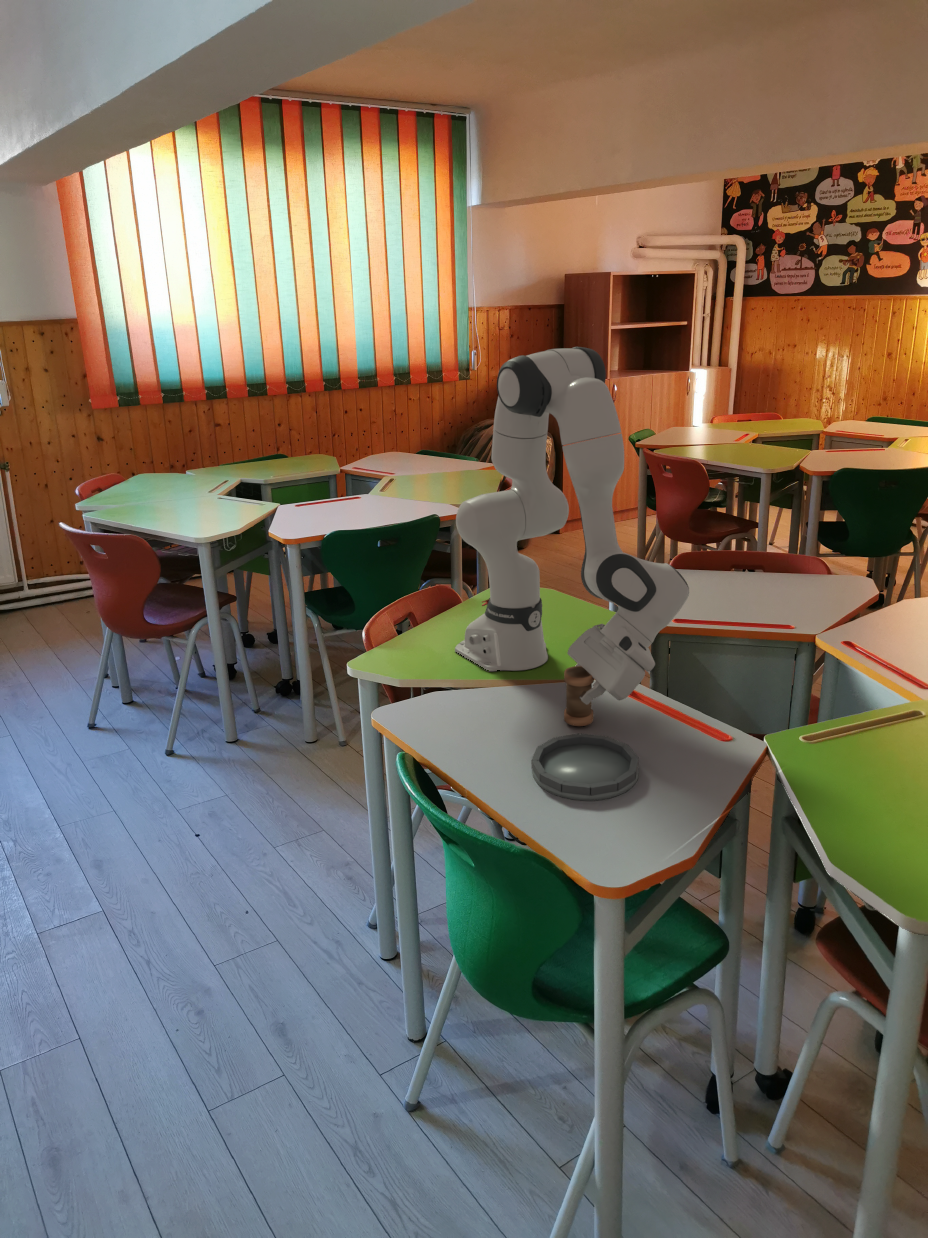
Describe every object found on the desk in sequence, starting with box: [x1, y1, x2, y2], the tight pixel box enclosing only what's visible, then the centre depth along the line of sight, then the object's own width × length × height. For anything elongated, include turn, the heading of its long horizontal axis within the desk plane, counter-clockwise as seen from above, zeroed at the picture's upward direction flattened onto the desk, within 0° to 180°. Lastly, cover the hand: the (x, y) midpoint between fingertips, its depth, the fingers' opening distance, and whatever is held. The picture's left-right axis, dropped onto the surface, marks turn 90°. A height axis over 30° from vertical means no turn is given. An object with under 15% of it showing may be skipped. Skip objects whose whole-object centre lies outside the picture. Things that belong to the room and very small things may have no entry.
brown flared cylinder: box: [563, 665, 595, 727], centre depth 169 cm, size 6×6×10 cm
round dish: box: [531, 732, 640, 802], centre depth 154 cm, size 18×18×2 cm
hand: (575, 694), depth 169 cm, fingers closed on brown flared cylinder, 5 cm apart
